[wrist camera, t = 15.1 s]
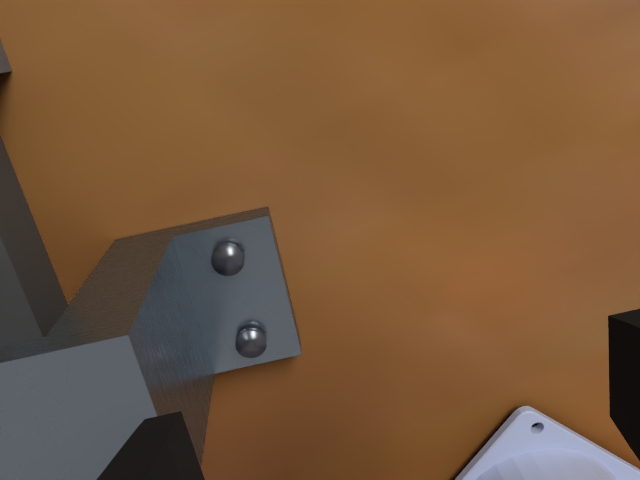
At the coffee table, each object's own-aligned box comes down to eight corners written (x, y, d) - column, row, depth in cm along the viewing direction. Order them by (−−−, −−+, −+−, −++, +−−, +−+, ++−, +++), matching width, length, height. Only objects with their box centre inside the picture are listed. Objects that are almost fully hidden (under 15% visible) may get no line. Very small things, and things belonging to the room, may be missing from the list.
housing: (300, 339, 20) (317, 487, 14) (-145, 437, 20) (-347, 638, 13) (268, 206, 18) (270, 303, 12) (-221, 312, 18) (-498, 472, 11)
